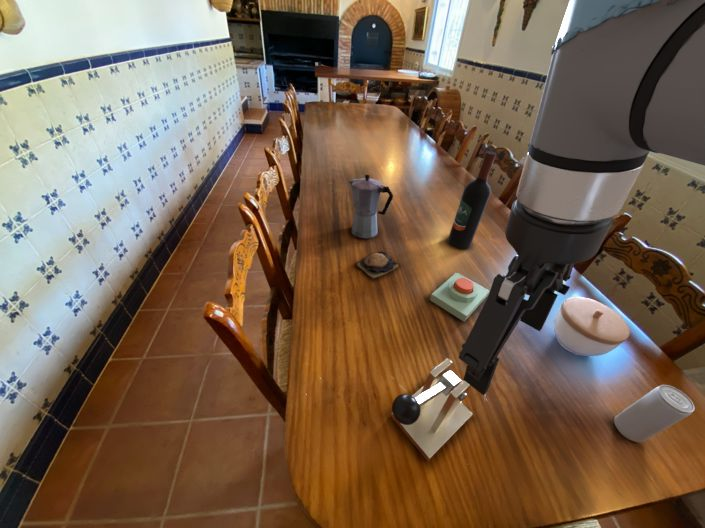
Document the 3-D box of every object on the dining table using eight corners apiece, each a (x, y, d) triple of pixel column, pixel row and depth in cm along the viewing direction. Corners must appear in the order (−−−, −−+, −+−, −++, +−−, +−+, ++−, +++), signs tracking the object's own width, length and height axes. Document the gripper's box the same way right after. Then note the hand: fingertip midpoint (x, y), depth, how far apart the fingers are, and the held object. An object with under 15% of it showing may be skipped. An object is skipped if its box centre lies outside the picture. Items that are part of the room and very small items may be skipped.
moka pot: (351, 219, 106) (355, 165, 94) (391, 232, 102) (401, 176, 89) (339, 232, 100) (341, 175, 87) (381, 246, 95) (390, 188, 82)
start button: (466, 297, 74) (468, 292, 73) (451, 288, 76) (452, 283, 75) (474, 288, 77) (476, 284, 76) (459, 280, 79) (461, 275, 78)
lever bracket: (427, 461, 49) (450, 426, 40) (390, 416, 54) (403, 375, 45) (470, 417, 55) (498, 377, 46) (433, 380, 60) (452, 338, 51)
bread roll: (373, 281, 82) (374, 271, 80) (354, 264, 87) (355, 255, 85) (400, 267, 87) (402, 257, 85) (381, 252, 92) (383, 243, 90)
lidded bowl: (570, 370, 64) (601, 339, 57) (532, 324, 73) (554, 293, 66) (617, 362, 66) (652, 331, 59) (574, 318, 76) (600, 287, 69)
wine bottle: (469, 251, 96) (506, 159, 77) (446, 245, 98) (476, 154, 79) (471, 239, 101) (505, 151, 82) (448, 234, 103) (477, 146, 84)
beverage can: (636, 449, 52) (690, 419, 45) (607, 424, 55) (652, 392, 48) (647, 434, 54) (700, 403, 47) (618, 411, 57) (664, 378, 50)
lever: (401, 435, 36) (415, 416, 35) (382, 411, 38) (394, 392, 37) (455, 397, 47) (467, 381, 46) (438, 379, 49) (449, 364, 48)
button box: (464, 322, 73) (469, 311, 70) (429, 300, 78) (433, 289, 75) (487, 296, 80) (492, 285, 78) (454, 277, 85) (458, 267, 83)
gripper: (574, 156, 34) (524, 291, 47) (434, 248, 22) (419, 393, 35) (660, 171, 29) (577, 317, 42) (537, 298, 17) (475, 445, 30)
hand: (505, 352), depth 39 cm, fingers open, 13 cm apart
